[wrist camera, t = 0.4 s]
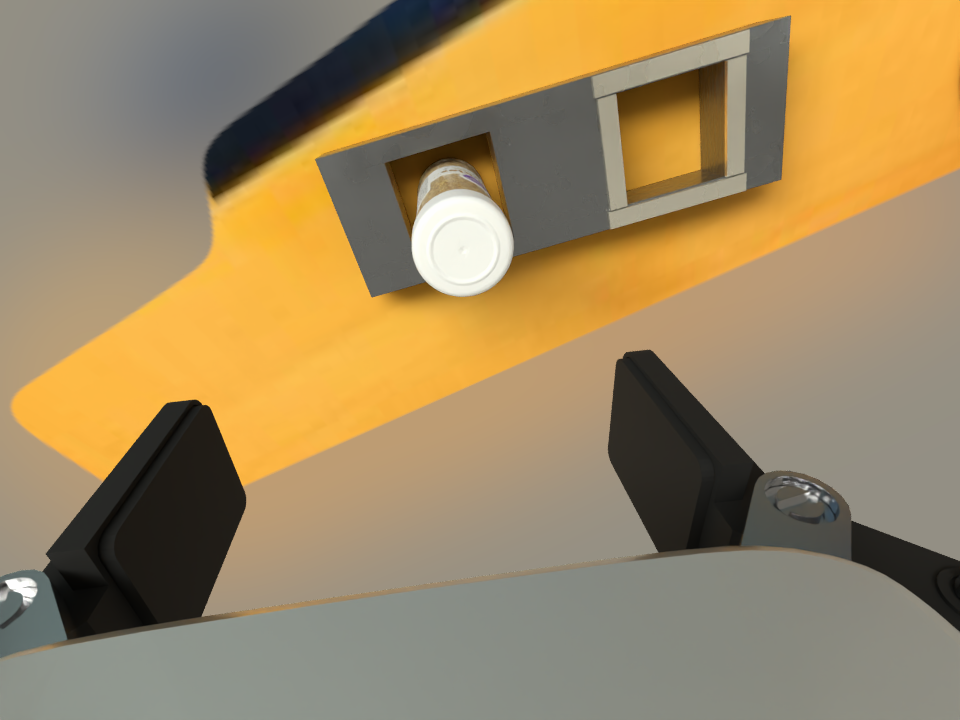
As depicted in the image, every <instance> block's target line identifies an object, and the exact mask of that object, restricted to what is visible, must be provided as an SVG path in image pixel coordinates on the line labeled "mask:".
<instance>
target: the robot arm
mask: <svg viewBox="0 0 960 720" xmlns="http://www.w3.org/2000/svg"><path fill="white" fill-rule="evenodd" d="M608 454H609V458H610V461H611V463H612V465H613V467H614V469H615V471H616V473H617V475H618V477H619V479H620V480H621V482H622V484H623V486H624V488H625V490H626V492H627V494H628V495H629V497H630V499H631V501H632V503H633V505H634V507H635V509H636V511H637V512H638V515H639V516H640V518H641V520H642V522H643V524H644V526H645V528H646V530H647V531H648V533H649V535H650V537H651V539H652V541H653V543H654V545H655V547H656V549H657V550H658V552H659V553H653V554H645V555H636V556H628V557H620V558H611V559H604V560H597V561H589V562H582V563H575V564H567V565H561V566H553V567H545V568H538V569H531V570H524V571H517V572H509V573H502V574H495V575H488V576H480V577H473V578H466V579H460V580H452V581H445V582H438V583H431V584H423V585H416V586H409V587H402V588H396V589H389V590H382V591H375V592H368V593H361V594H354V595H347V596H340V597H333V598H326V599H320V600H312V601H306V602H299V603H293V604H285V605H279V606H272V607H265V608H259V609H252V610H245V611H239V612H232V613H225V614H218V615H211V616H205V617H201V616H202V613H203V611H204V609H205V606H206V604H207V601H208V598H209V596H210V594H211V591H212V589H213V586H214V584H215V581H216V579H217V577H218V574H219V572H220V569H221V567H222V564H223V562H224V559H225V557H226V555H227V552H228V550H229V547H230V545H231V542H232V540H233V537H234V535H235V532H236V530H237V528H238V525H239V522H240V520H241V518H242V515H243V513H244V510H245V507H246V495H245V491H244V489H243V486H242V484H241V482H240V479H239V477H238V474H237V472H236V469H235V467H234V464H233V462H232V460H231V457H230V455H229V452H228V450H227V447H226V445H225V442H224V440H223V438H222V435H221V433H220V430H219V428H218V425H217V423H216V420H215V418H214V416H213V413H212V411H211V409H210V407H209V406H207V405H202V404H201V403H200V402H199V401H198V400H188V401H179V402H170V403H167V404H166V405H164V406H163V408H162V409H161V410H160V412H159V413H158V414H157V415H156V417H155V418H154V419H153V420H152V422H151V423H150V424H149V425H148V427H147V428H146V429H145V430H144V432H143V433H142V434H141V435H140V437H139V438H138V439H137V440H136V442H135V443H134V444H133V445H132V447H131V448H130V449H129V450H128V452H127V453H126V454H125V455H124V457H123V458H122V459H121V460H120V462H119V463H118V464H117V465H116V467H115V468H114V469H113V470H112V472H111V473H110V474H109V475H108V477H107V478H106V479H105V480H104V482H103V483H102V484H101V485H100V487H99V488H98V489H97V491H96V492H95V493H94V494H93V495H92V497H91V498H90V499H89V500H88V502H87V503H86V504H85V505H84V507H83V508H82V509H81V510H80V512H79V513H78V514H77V515H76V517H75V518H74V519H73V520H72V522H71V523H70V524H69V526H68V527H67V528H66V529H65V531H64V532H63V533H62V534H61V535H60V537H59V538H58V539H57V540H56V542H55V543H54V544H53V546H52V547H51V548H50V549H49V550H48V552H47V553H46V555H47V556H48V557H49V559H50V560H51V561H50V563H49V564H48V565H47V566H46V568H45V569H44V570H43V572H41V571H37V570H21V571H17V572H14V573H10V574H6V575H4V576H1V577H0V720H960V561H958V560H955V559H953V558H950V557H947V556H945V555H942V554H939V553H936V552H934V551H931V550H928V549H926V548H923V547H920V546H918V545H915V544H912V543H910V542H907V541H904V540H902V539H899V538H896V537H893V536H891V535H888V534H885V533H883V532H880V531H877V530H875V529H872V528H869V527H867V526H864V525H861V524H859V523H856V522H853V521H851V512H850V509H849V505H848V504H847V502H846V501H845V500H844V498H843V497H842V496H841V495H840V494H839V493H838V492H837V491H835V490H834V489H833V488H832V487H830V486H829V485H827V484H825V483H823V482H822V481H820V480H818V479H816V478H813V477H811V476H808V475H805V474H802V473H797V472H792V471H772V472H768V473H764V472H763V471H762V470H761V469H760V468H759V467H758V466H757V464H756V463H755V462H754V461H753V460H752V459H751V458H750V457H749V456H748V455H747V454H746V452H745V451H744V450H743V449H742V448H741V447H740V446H739V445H738V444H737V443H736V442H735V440H734V439H733V438H732V437H731V436H730V435H729V434H728V433H727V432H726V431H725V430H724V428H723V427H722V426H721V425H720V424H719V423H718V422H717V421H716V420H715V419H714V418H713V416H712V415H711V414H710V413H709V412H708V411H707V410H706V409H705V408H704V407H703V406H702V404H700V403H699V401H698V400H697V399H696V398H695V397H694V396H693V395H692V394H691V393H690V392H689V391H688V389H687V388H686V387H685V386H684V385H683V384H682V383H681V382H680V381H679V380H678V378H677V377H676V376H675V375H674V374H673V373H672V372H671V371H670V370H669V369H668V368H667V367H666V365H665V364H664V363H663V362H662V361H661V360H660V359H659V358H658V357H657V356H656V354H655V353H654V352H653V351H651V350H643V351H633V352H626V353H625V354H624V356H623V359H619V360H617V362H616V370H615V381H614V390H613V402H612V412H611V423H610V432H609V443H608Z"/></svg>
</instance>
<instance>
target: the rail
mask: <svg viewBox="0 0 960 720" xmlns="http://www.w3.org/2000/svg"><path fill="white" fill-rule="evenodd" d="M790 22H791V16H786V17H781V18H776V19H771V20H766V21H761V22H757V23H753V24H750V25H747V26H744V27H740V28H737V29H734V30H730V31H727V32H724V33H720V34H717V35H714V36H711V37H707V38H704V39H701V40H697V41H694V42H691V43H687V44H684V45H681V46H678V47H674V48H671V49H668V50H664V51H661V52H658V53H654V54H651V55H648V56H644V57H641V58H638V59H635V60H631V61H628V62H625V63H621V64H618V65H615V66H611V67H608V68H605V69H602V70H598V71H595V72H592V73H588V74H585V75H582V76H578V77H575V78H572V79H568V80H565V81H562V82H559V83H555V84H552V85H549V86H545V87H542V88H539V89H535V90H532V91H529V92H526V93H522V94H519V95H516V96H512V97H509V98H506V99H502V100H499V101H496V102H492V103H489V104H486V105H483V106H479V107H476V108H473V109H469V110H466V111H463V112H459V113H456V114H453V115H450V116H446V117H443V118H440V119H436V120H433V121H430V122H426V123H423V124H420V125H416V126H413V127H410V128H407V129H403V130H400V131H397V132H393V133H390V134H387V135H383V136H380V137H377V138H374V139H370V140H367V141H364V142H360V143H357V144H354V145H350V146H347V147H344V148H341V149H337V150H334V151H331V152H327V153H324V154H323V155H321V156H320V157H318V158H316V159H315V160H316V163H317V165H318V167H319V170H320V172H321V175H322V177H323V180H324V182H325V184H326V187H327V189H328V192H329V194H330V197H331V199H332V202H333V204H334V206H335V209H336V211H337V214H338V216H339V219H340V221H341V224H342V226H343V228H344V231H345V233H346V236H347V238H348V241H349V243H350V246H351V248H352V250H353V253H354V255H355V258H356V260H357V263H358V265H359V268H360V270H361V272H362V275H363V277H364V280H365V282H366V285H367V287H368V290H369V292H370V294H371V297H375V296H379V295H382V294H386V293H389V292H393V291H396V290H400V289H403V288H406V287H410V286H413V285H417V284H420V283H424V282H426V281H425V280H424V279H423V277H422V276H421V275H420V273H419V271H418V270H417V268H416V265H415V263H414V259H413V255H412V228H411V225H410V222H409V219H408V216H407V213H406V210H405V207H404V204H403V201H402V198H401V195H400V192H399V189H398V186H397V183H396V180H395V177H394V174H393V171H392V168H391V165H390V162H389V161H393V160H396V159H399V158H403V157H406V156H409V155H413V154H416V153H419V152H423V151H426V150H429V149H433V148H436V147H439V146H443V145H446V144H449V143H453V142H456V141H459V140H463V139H466V138H469V137H473V136H476V135H479V134H483V133H486V137H487V141H488V145H489V150H490V154H491V158H492V162H493V167H494V171H495V175H496V180H497V184H498V188H499V193H500V197H501V201H502V205H503V210H504V214H505V217H506V219H507V221H508V223H509V225H510V228H511V231H512V234H513V240H514V251H513V257H514V256H518V255H521V254H524V253H528V252H531V251H535V250H538V249H542V248H545V247H549V246H552V245H556V244H559V243H563V242H566V241H570V240H573V239H577V238H580V237H584V236H587V235H590V234H594V233H597V232H601V231H604V230H608V229H614V228H618V227H621V226H625V225H628V224H632V223H635V222H638V221H642V220H645V219H649V218H652V217H656V216H659V215H663V214H666V213H670V212H673V211H677V210H680V209H684V208H687V207H691V206H694V205H698V204H701V203H704V202H708V201H711V200H715V199H718V198H722V197H725V196H729V195H732V194H736V193H739V192H743V191H746V190H747V189H750V188H754V187H757V186H761V185H764V184H767V183H771V182H774V181H778V180H781V176H782V159H783V142H784V125H785V108H786V90H787V73H788V56H789V39H790ZM696 69H699V90H700V133H701V170H698V171H695V172H691V173H688V174H684V175H681V176H677V177H674V178H671V179H667V180H664V181H660V182H657V183H653V184H650V185H647V186H643V187H640V188H636V189H633V190H629V191H626V185H625V175H624V166H623V156H622V146H621V136H620V126H619V116H618V106H617V96H616V93H619V92H623V91H626V90H629V89H633V88H636V87H639V86H643V85H646V84H649V83H653V82H656V81H659V80H663V79H666V78H669V77H673V76H676V75H679V74H683V73H686V72H689V71H693V70H696Z"/></svg>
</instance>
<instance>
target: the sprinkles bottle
mask: <svg viewBox="0 0 960 720" xmlns="http://www.w3.org/2000/svg"><path fill="white" fill-rule="evenodd" d="M513 251H514V240H513V234H512V231H511V228H510V225H509V223H508V221H507V219H506V217H505V215H504V213H503V212H502V210H501V209H500V208H499V206H498V205H497V204H496V203H495V202H494V201H492V200H491V197H490V195H489V194H488V192H487V190H486V188H485V186H484V184H483V181H482V179H481V177H480V175H479V174H478V172H477V171H476V170H475V168H474V167H473V166H471V165H470V164H468V163H467V162H465V161H462V160H459V159H455V158H446V159H441V160H439V161H437V162H435V163H433V164H432V165H431V166H429V167H428V168H427V169H426V171H425V172H424V173H423V175H422V176H421V178H420V182H419V185H418V203H417V216H416V220H415V222H414V226H413V230H412V255H413V259H414V263H415V265H416V268H417V270H418V271H419V273H420V275H421V276H422V277H423V279H424V280H425V281H426V282H427V283H428V284H429V285H431V286H432V287H433V288H435V289H436V290H438V291H440V292H442V293H445V294H448V295H452V296H457V297H467V296H474V295H477V294H480V293H483V292H485V291H487V290H489V289H490V288H492V287H493V286H495V285H496V284H497V283H498V282H499V281H500V280H501V279H502V278H503V276H504V275H505V274H506V272H507V270H508V268H509V266H510V264H511V261H512V257H513Z"/></svg>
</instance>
